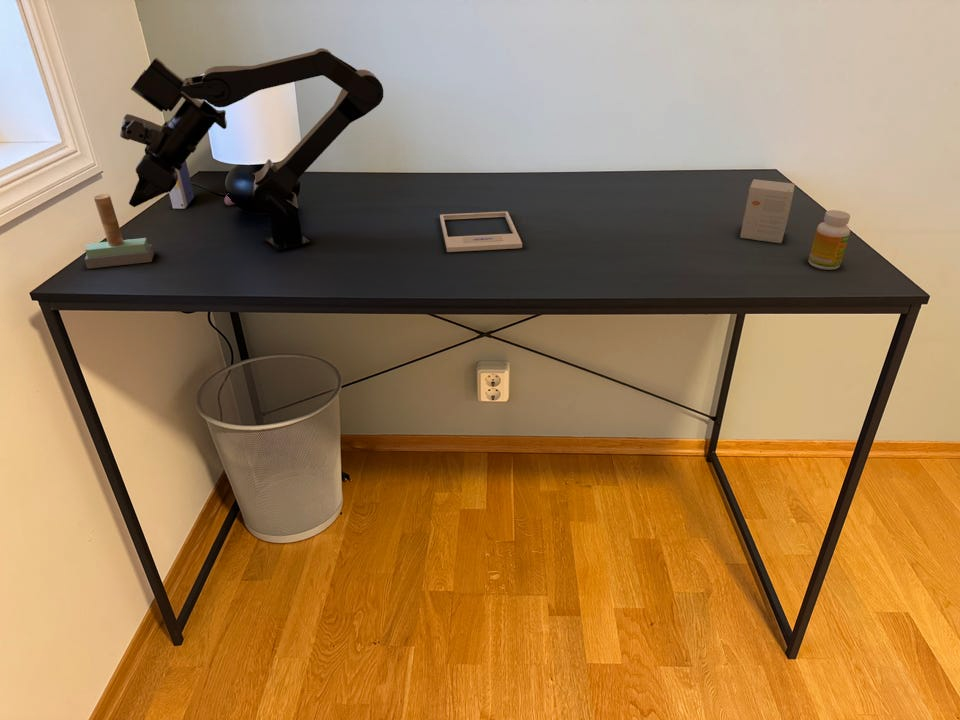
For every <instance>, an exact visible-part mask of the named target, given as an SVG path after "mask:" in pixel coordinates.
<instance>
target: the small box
mask: <svg viewBox="0 0 960 720" xmlns="http://www.w3.org/2000/svg"><path fill="white" fill-rule="evenodd" d="M795 186H796V184H795V183H791V182H782V181H772V180H763V179H755V178H753V179H752V181H751V183H750V186H749V189H748V194H747V198H746V199H747V200H746V205H745V210H744V213H743V220H742V225H741V229H740V235H739V238H740V239H747V240H753V241H761V242H766V243H767V242H768V243H774V244H775V243H776V244H782V243H783V239H784V237H785V236H784V235H785V231H786V228H787V224H788V219H789V215H790V211H791V206H792V202H793V197H794V192H795Z"/></svg>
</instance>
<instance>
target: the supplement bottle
mask: <svg viewBox="0 0 960 720" xmlns="http://www.w3.org/2000/svg"><path fill="white" fill-rule="evenodd" d="M850 219H851V215H850V213H848V212H846V211H843V210H838V209H837V210H835V209H831V210H826V211H825V213H824V217H823V221H822V222H820V223H819V224H818V225H817V227H816V231H815V235H814V238H813V242H812V245H811V249H810V250H811V251H810V254H809V257H808V263H809V265H810V266H812V267H814V268H816V269H819V270H820V269H821V270H826V271H832V270H833V271H834V270H837V269H839V268H840V266H841V264H842V261H843V258H844V254H845V251H846V248H847V244H848V241H849V238H850V234H851V229H850V227H849V225H848V224H849V223H850Z"/></svg>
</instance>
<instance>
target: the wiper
mask: <svg viewBox="0 0 960 720" xmlns="http://www.w3.org/2000/svg"><path fill="white" fill-rule="evenodd" d="M93 200H94V202H95V206H96V209H97V213H98V215H99V219H100V223H101V225H102V229H103V231H104V235H105V237H106V241H101V242H92V243H88V244H87V245H86V248H85V251H84V252H85V253H86V255H85V257H84V263H85V265H86V268H87V269H88V270H91V269H99V268H106V267H107V268H109V267H116V266H125V265H136V264H146V263H153V258H154V256H155V252H154V248H153V245H152V244H151V243H150V244H149V243H148V238H147V237H140V238H131V239H130V238H129V239H124V238H123V235H122V230H121V227H120V225H119V221H118V218H117V215H116V212H115V208H114V205H113V201H112V198H111V195H110V194H108V193H107V194H106V193H102V194H98V195H95V196H93Z"/></svg>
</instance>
